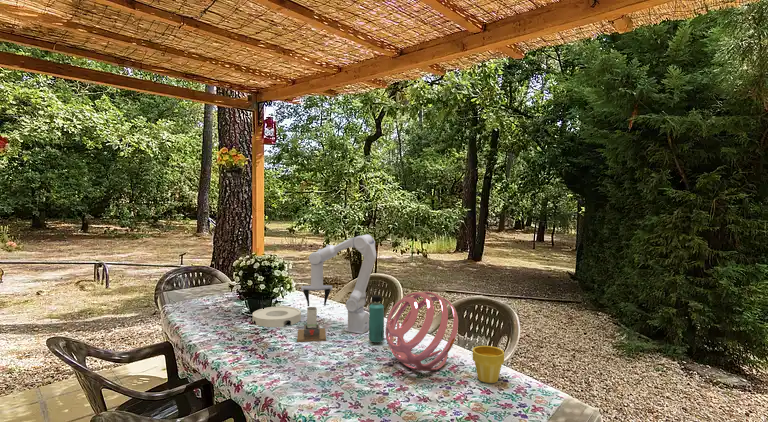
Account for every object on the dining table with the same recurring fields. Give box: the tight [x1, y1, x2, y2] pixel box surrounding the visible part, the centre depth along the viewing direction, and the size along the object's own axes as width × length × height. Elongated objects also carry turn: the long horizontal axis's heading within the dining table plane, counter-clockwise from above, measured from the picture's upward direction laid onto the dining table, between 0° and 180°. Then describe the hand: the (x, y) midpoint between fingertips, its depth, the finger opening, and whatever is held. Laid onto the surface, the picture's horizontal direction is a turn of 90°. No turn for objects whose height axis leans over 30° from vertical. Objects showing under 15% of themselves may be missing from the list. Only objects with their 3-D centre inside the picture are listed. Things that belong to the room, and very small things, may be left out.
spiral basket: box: [385, 291, 459, 372], centre depth 152 cm, size 28×28×27 cm
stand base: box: [296, 323, 327, 343], centre depth 183 cm, size 14×12×4 cm
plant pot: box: [472, 345, 505, 384], centre depth 141 cm, size 10×10×10 cm
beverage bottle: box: [368, 294, 385, 343], centre depth 175 cm, size 6×7×20 cm
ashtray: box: [252, 306, 302, 328], centre depth 206 cm, size 23×23×4 cm
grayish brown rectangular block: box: [306, 306, 318, 328], centre depth 182 cm, size 4×4×8 cm
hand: (316, 305), depth 198 cm, fingers open, 7 cm apart
